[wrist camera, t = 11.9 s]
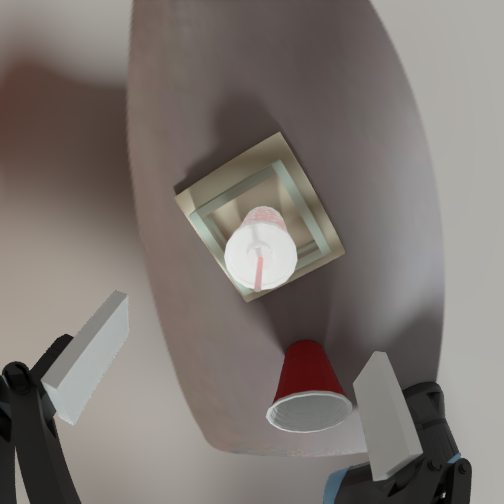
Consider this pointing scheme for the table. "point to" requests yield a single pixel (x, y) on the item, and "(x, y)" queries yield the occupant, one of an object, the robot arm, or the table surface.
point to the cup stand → (257, 195)
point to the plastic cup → (308, 392)
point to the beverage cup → (261, 251)
